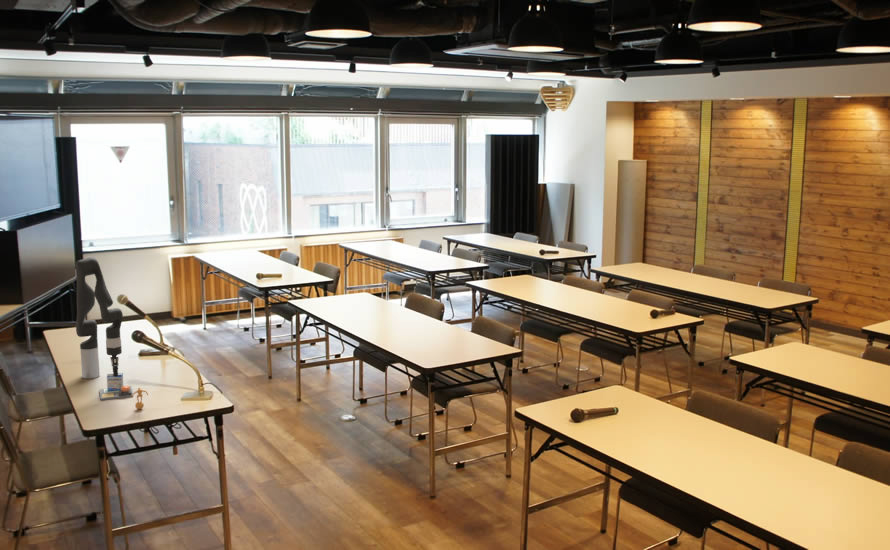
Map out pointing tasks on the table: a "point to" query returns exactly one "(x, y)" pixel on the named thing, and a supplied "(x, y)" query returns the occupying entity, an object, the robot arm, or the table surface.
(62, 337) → the table surface
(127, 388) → the button
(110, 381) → the medicine box
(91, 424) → the table surface
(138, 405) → the figurine
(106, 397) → the activity board
